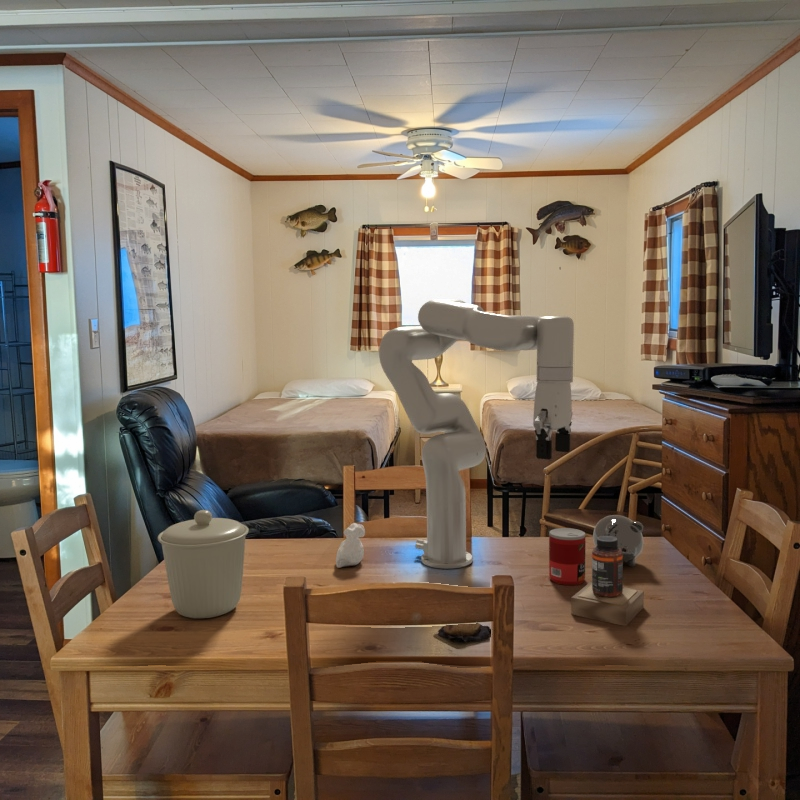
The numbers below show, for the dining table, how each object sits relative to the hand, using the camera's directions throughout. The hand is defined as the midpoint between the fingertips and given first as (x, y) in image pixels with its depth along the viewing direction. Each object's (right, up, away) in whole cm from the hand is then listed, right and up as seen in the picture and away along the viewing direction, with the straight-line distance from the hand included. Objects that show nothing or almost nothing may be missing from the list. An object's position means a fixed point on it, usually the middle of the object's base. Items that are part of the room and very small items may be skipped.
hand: (553, 455), depth 159 cm
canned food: (+5, -29, +10) cm, 31 cm away
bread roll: (-21, -33, -19) cm, 43 cm away
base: (+9, -31, -9) cm, 33 cm away
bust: (-45, -29, +24) cm, 58 cm away
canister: (-73, -32, -4) cm, 80 cm away
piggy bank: (+20, -28, +20) cm, 40 cm away
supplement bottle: (+9, -27, -9) cm, 30 cm away
